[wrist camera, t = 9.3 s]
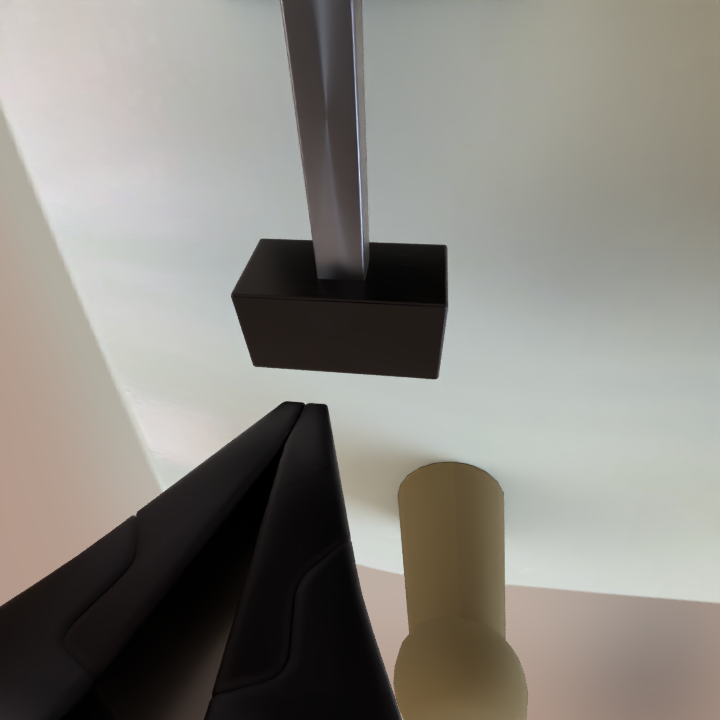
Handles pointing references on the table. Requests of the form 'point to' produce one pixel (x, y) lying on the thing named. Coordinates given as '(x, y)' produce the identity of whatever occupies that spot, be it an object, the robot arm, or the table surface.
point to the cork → (455, 600)
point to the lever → (339, 232)
